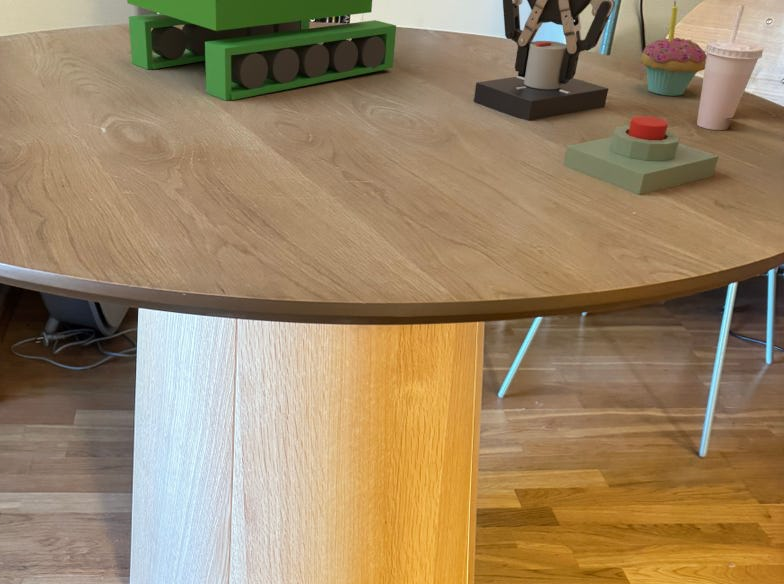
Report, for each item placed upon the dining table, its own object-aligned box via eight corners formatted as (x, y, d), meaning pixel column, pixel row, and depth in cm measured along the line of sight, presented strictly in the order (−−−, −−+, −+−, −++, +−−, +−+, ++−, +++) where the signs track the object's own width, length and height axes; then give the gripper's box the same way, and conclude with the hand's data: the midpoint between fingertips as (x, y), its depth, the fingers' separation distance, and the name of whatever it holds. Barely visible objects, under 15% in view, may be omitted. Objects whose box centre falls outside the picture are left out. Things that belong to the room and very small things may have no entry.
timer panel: (548, 89, 122) (551, 70, 121) (604, 107, 115) (609, 87, 114) (473, 101, 115) (476, 81, 114) (528, 121, 108) (532, 99, 107)
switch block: (636, 149, 100) (644, 114, 98) (712, 176, 93) (723, 139, 91) (563, 165, 94) (570, 128, 92) (638, 195, 87) (648, 156, 85)
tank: (420, 67, 130) (432, -54, 122) (227, 101, 111) (225, -40, 103) (315, 37, 146) (319, -71, 138) (130, 62, 127) (122, -62, 118)
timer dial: (540, 78, 117) (547, 36, 114) (569, 86, 113) (577, 44, 111) (515, 83, 114) (522, 40, 111) (544, 91, 111) (552, 47, 108)
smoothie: (704, 115, 113) (736, -1, 106) (750, 128, 109) (787, 8, 101) (675, 122, 110) (706, 3, 102) (721, 136, 106) (757, 12, 98)
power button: (642, 130, 94) (646, 114, 93) (671, 140, 91) (675, 123, 90) (620, 135, 92) (624, 118, 91) (648, 144, 89) (652, 127, 89)
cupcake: (659, 100, 119) (682, 6, 113) (621, 85, 126) (641, -5, 119) (710, 97, 121) (736, 5, 115) (670, 82, 128) (692, -6, 122)
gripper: (501, -71, 105) (480, 75, 114) (622, -60, 99) (590, 94, 108) (521, -75, 110) (500, 65, 119) (637, -64, 104) (606, 82, 113)
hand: (543, 78), depth 113 cm, fingers closed on timer dial, 5 cm apart
